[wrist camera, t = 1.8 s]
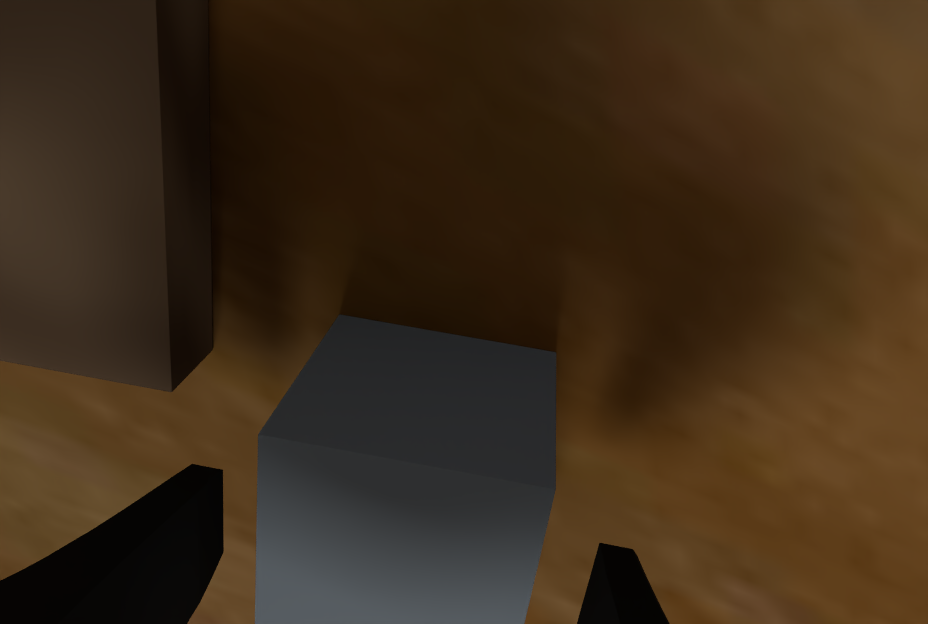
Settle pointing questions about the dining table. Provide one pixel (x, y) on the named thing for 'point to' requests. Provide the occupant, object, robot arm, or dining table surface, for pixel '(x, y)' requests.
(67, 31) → the base slab
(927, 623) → the dining table surface
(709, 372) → the dining table surface
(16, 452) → the dining table surface
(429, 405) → the grey cube
